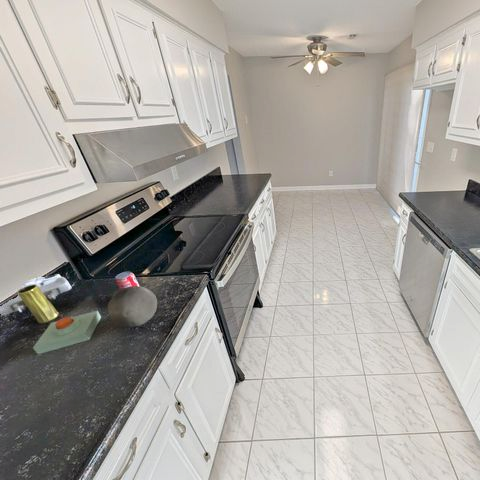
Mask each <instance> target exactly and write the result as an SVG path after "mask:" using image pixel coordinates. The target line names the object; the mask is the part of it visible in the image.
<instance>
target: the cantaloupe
mask: <svg viewBox="0 0 480 480" xmlns="http://www.w3.org/2000/svg"><path fill="white" fill-rule="evenodd" d="M157 307H158V299H157V296H156V295H155V294H154V292H153V291H151V290H150V289H149V288H147V287H144V286H141V285H139V286H131V287H126V288H124V289H122V290H120V289H119V291H117V292H116V293H115V294H114V295H112V297H111V298H110V299H109V302H108V305H107V315H108V317H109V319H111V320H112V322H113V323H114V324H116V325H118V326H119V327H122V328H127V329H128V328H129V329H131V328H136V327H141V326H143V325H144V324H146V323H148V322H149V321H150V320H151V319H152V318H153V317H154V315H155V313H156V312H157V310H158V309H157Z"/></svg>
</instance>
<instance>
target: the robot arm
mask: <svg viewBox="0 0 480 480" xmlns="http://www.w3.org/2000/svg"><path fill="white" fill-rule="evenodd" d="M34 284H35V285H37V286H38V287H39V288H40V290H41V291H42V293H43V294H44V295H45V296H46V298H47V299H48V300H49V301H53V300H56V297H57V296H58V295H61V294H63V293H65V292H68V291H71V290H72V288H73V287H72V285H71V284H70V282H69V281H68V280H67V278H65V277H64V276H61V275H60V274H59V273H56V274H51V275H47V276H46V277H38V278H34V279H31V280H28V281H26V282H25V283H24V284H23V285H22V286H21V287H20V289H21V288H23V287H26V286H29V285H34ZM20 289H19V290H20ZM27 308H28V307H27V305H26V304H25V303H24V301H23V300H22V299H21V297H20V296H19V295H18V296H17V297H16V298H14V299H11V300H9V301H8V302H7V303H5V304H3V305H2V306H0V314H1V315H0V316H7V315H9V314H12V313H15V312H19V313H23V312H25V311H27Z"/></svg>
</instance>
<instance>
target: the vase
mask: <svg viewBox="0 0 480 480" xmlns="http://www.w3.org/2000/svg"><path fill="white" fill-rule="evenodd" d="M16 294H18V295H19V296H20V297H21V299H22V300H23V301H24V303H25V304H26V305H27V307H26V308H27V309H28V310H29V311H30V312H31V314H32V315H33V317H34V318H35V319H36V321H37V323H38V324H45V323H48V322H51V321H53V320H55V319H56V318H57V317H58V316H59V313H60V312H59V311H58V310H57V309H56V308H55V306H54V305H53V304H52V302H51V300H50V299H49V298H48V299H47V298H46V296H45V295H44V294H43V293H42V291H41V290H40V288H39V287H38V286H37V285H35V284H34V285H29V286H26V287H23V288H21V289H20V290H18V289H17V291H16Z"/></svg>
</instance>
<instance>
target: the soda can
mask: <svg viewBox="0 0 480 480" xmlns="http://www.w3.org/2000/svg"><path fill="white" fill-rule="evenodd" d="M114 279H115V283H116V285H117V287H118V289H119V291H120V290H122V289H124V288H126V287H131V286H140V284H139V282H138V280H137V278H136V276H135V274H134V273H133V272H131V271H122V272H121V273H119V274H117V275H116V276H115V278H114Z"/></svg>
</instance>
